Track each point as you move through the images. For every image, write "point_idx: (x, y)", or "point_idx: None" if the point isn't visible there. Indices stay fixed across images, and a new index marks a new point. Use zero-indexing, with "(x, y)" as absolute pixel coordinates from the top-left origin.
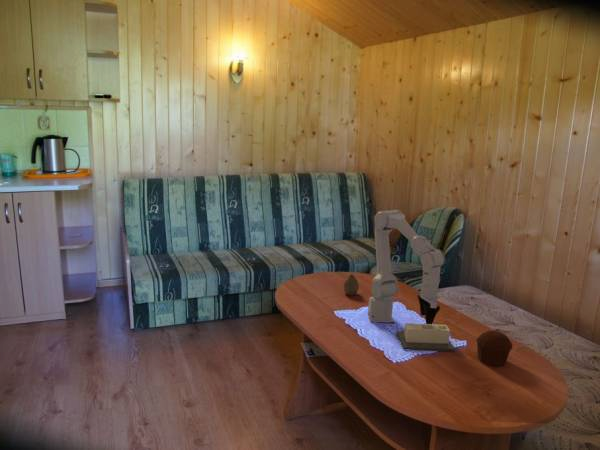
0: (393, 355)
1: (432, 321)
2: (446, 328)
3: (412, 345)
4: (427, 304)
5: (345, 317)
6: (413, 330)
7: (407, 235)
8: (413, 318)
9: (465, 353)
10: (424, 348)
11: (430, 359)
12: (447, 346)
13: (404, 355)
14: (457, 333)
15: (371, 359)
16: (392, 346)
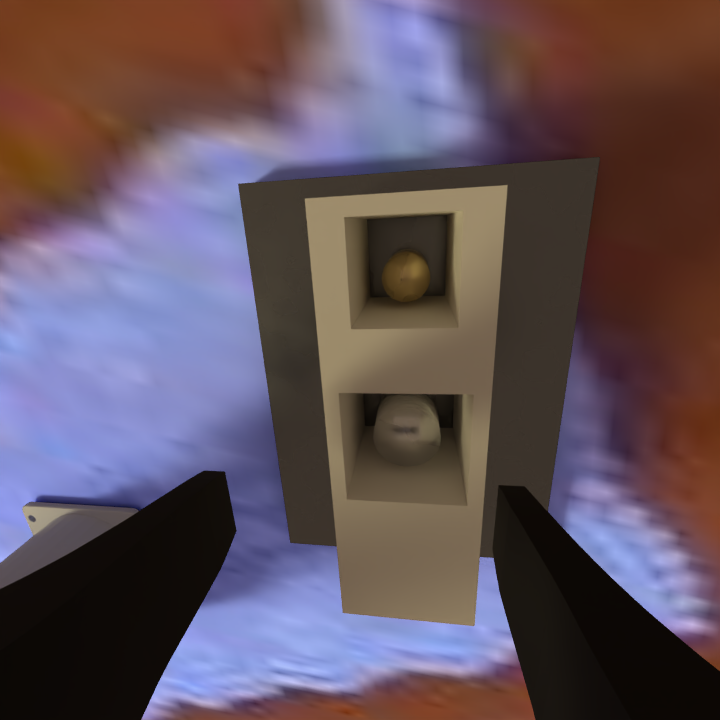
0: None
1: (550, 522)
2: (401, 214)
3: None
4: (92, 639)
5: (157, 695)
6: (475, 575)
7: None
8: (12, 368)
9: (636, 41)
10: (556, 429)
11: (709, 413)
12: (539, 226)
13: (619, 557)
14: (169, 20)
15: None
16: (485, 588)
